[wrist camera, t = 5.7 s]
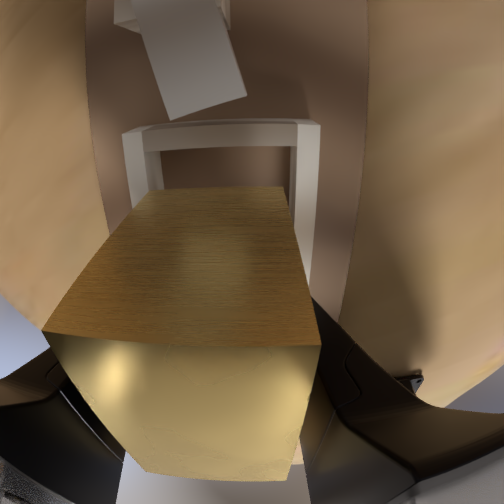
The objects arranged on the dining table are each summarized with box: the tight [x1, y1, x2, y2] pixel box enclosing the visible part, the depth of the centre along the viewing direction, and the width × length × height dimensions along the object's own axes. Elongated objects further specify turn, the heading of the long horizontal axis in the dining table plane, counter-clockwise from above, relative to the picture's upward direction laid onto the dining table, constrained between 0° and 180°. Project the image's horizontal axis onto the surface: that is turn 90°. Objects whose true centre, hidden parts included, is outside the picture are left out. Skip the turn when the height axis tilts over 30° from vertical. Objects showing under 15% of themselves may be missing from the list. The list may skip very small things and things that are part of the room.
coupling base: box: [85, 0, 369, 323], centre depth 13 cm, size 23×12×6 cm, turn 1°
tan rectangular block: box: [41, 186, 322, 481], centre depth 8 cm, size 6×4×6 cm, turn 1°
